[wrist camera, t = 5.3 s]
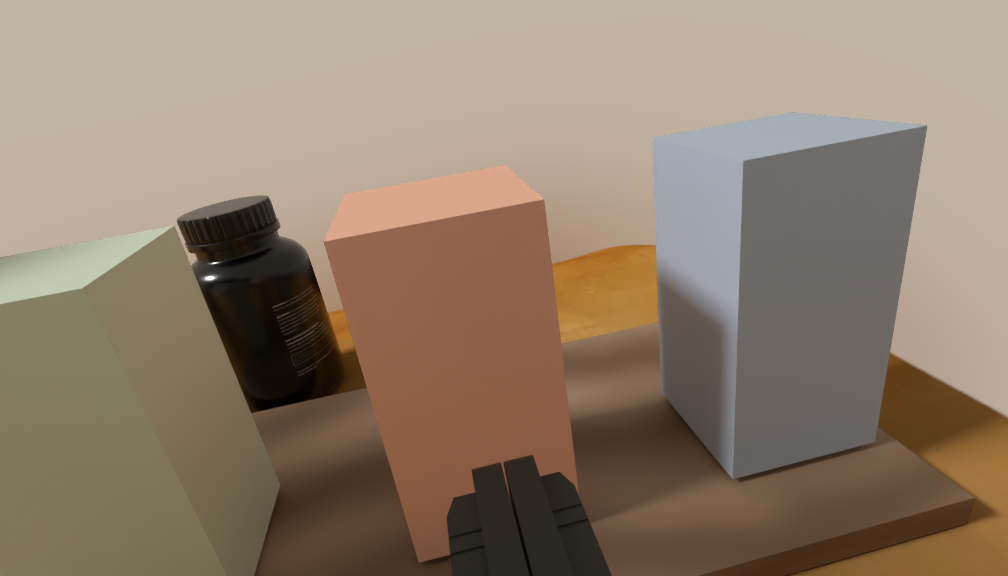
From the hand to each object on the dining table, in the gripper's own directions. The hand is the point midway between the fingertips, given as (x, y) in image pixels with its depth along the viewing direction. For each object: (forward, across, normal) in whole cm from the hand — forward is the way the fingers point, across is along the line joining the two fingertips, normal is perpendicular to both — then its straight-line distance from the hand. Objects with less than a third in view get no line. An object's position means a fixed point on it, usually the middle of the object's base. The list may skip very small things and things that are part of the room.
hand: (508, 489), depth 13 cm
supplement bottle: (+21, -11, -8) cm, 25 cm away
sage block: (+7, -12, -6) cm, 16 cm away
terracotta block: (+7, 0, -6) cm, 10 cm away
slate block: (+7, +12, -6) cm, 15 cm away
